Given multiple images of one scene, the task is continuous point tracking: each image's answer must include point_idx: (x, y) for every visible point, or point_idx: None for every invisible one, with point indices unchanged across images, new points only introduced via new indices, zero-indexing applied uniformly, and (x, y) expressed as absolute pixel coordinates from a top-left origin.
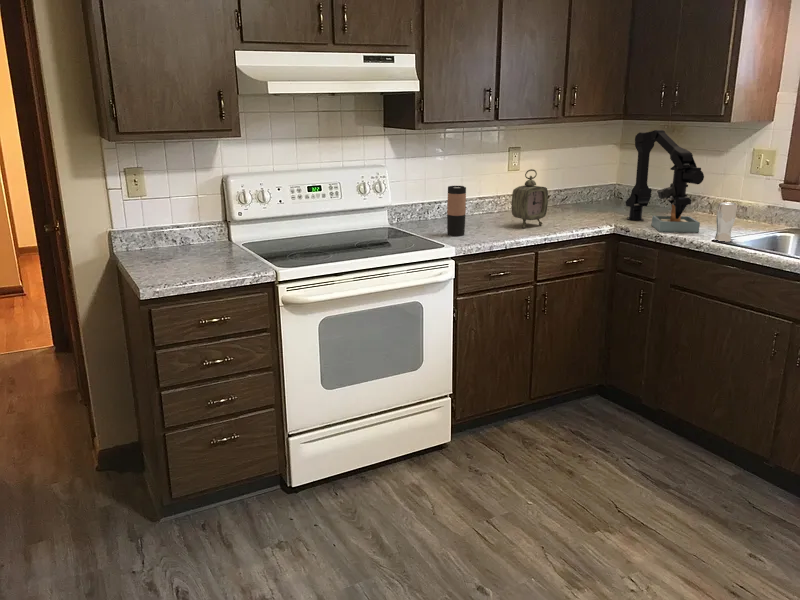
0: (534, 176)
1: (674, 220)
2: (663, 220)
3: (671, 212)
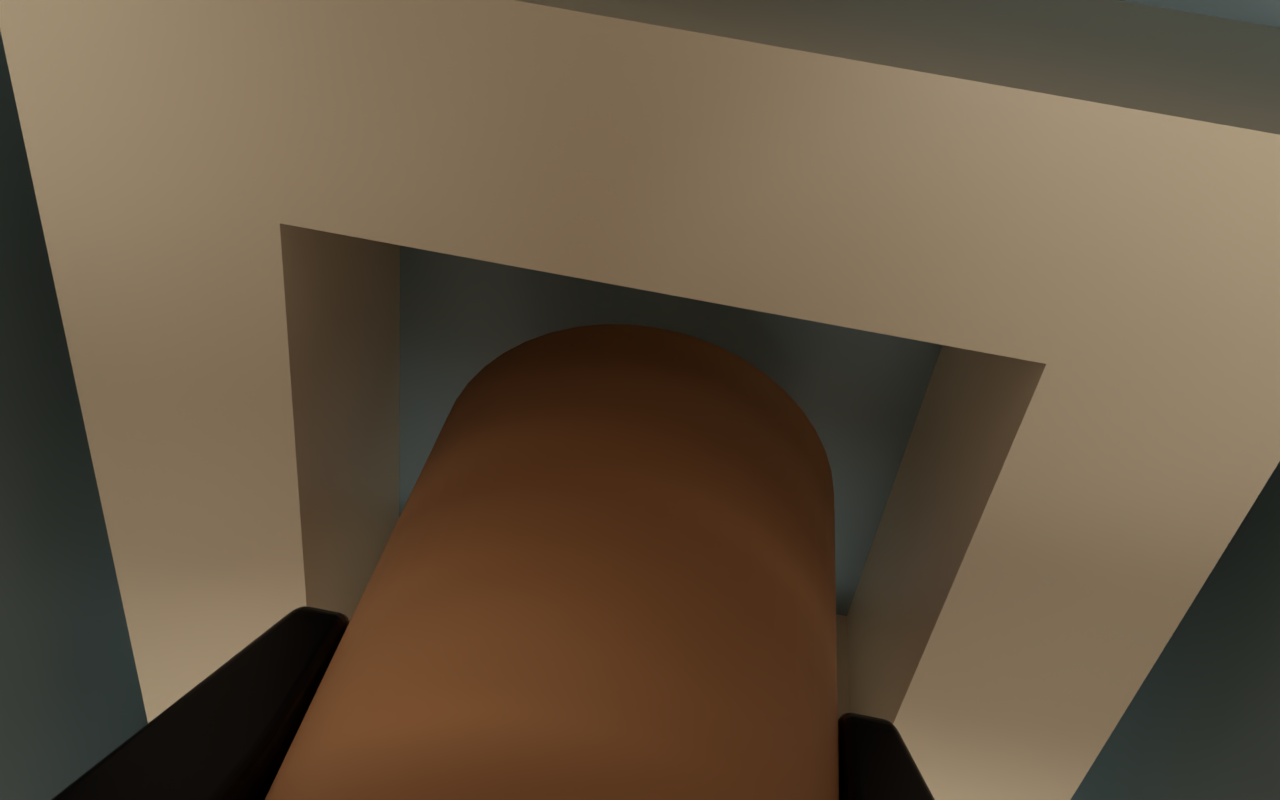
0: None
1: (407, 511)
2: (876, 119)
3: (532, 790)
